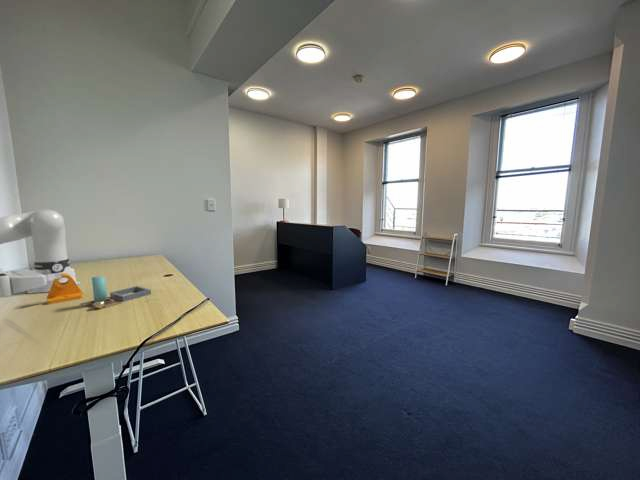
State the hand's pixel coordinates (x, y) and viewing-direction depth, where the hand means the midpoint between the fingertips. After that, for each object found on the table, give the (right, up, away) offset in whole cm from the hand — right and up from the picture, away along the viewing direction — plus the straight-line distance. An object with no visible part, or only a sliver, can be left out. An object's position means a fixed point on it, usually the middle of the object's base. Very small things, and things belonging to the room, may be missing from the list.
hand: (55, 273), depth 92 cm
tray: (+11, -14, +23) cm, 29 cm away
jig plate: (+5, -15, +13) cm, 21 cm away
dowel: (+5, -14, +13) cm, 20 cm away
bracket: (-14, -15, +18) cm, 27 cm away
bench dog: (+9, -15, +8) cm, 19 cm away
